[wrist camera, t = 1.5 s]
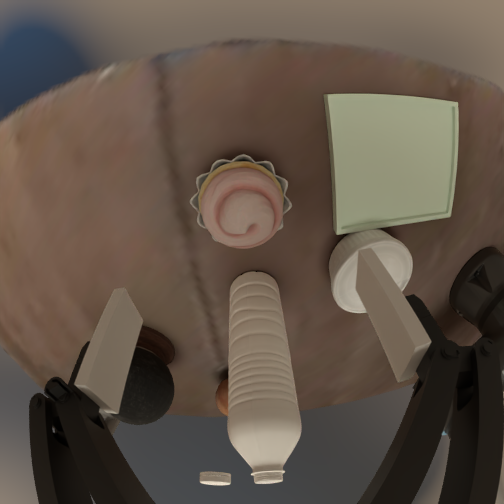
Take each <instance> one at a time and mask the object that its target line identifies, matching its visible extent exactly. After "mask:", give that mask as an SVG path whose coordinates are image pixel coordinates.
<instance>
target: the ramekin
mask: <svg viewBox="0 0 504 504" xmlns="http://www.w3.org/2000/svg"><path fill="white" fill-rule="evenodd" d="M366 248H372V250H373V251H374V252H375V254H376V255H377V257H378V258H379V259H380V261H381V262H382V264H383V265H384V266H385V268H386V269H387V271H388V272H389V274H390V275H391V277H392V278H393V280H394V281H395V283H396V284H397V286H398V287H399V289H400V290H401V292H402V291H403V290H404V288H405V287H406V285H407V283H408V281H409V279H410V277H411V274H412V268H413V262H412V257H411V254H410V252H409V250H408V249H407V247H406V246H405V245H404V244H403V243H402V242H401V241H399V240H397V239H395V238H393V237H392V236H390V235H389V234H387V233H386V232H384V231H383V230H380V229H371V230H364V231H358V232H352V233H350V234H348V235H347V236H345V237H344V238H343V239H342V240H341V241H340V242H339V243H338V244H337V246H336V247H335V249H334V250H333V252H332V254H331V257H330V261H329V273H330V278H331V290H332V294H333V297H334V299H335V301H336V303H337V304H338V306H340V307H341V308H342V309H344V310H346V311H349V312H353V313H366V310H365V307H364V305H363V303H362V301H361V299H360V297H359V295H358V293H357V291H356V289H355V286H356V276H357V263H358V250H361V249H366Z"/></svg>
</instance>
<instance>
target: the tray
mask: <svg viewBox="0 0 504 504" xmlns="http://www.w3.org/2000/svg"><path fill="white" fill-rule="evenodd" d="M323 96H324V104H325V112H326V121H327V130H328V141H329V152H330V165H331V181H332V202H333V230H334V231H335V233H336V235H340V234H346V233H352V232H358V231H364V230H371V229H377V228H383V227H390V226H396V225H402V224H409V223H415V222H421V221H428V220H434V219H440V218H447V217H451V211H452V205H453V198H454V190H455V182H456V171H457V158H458V130H459V122H458V103H457V102H452V101H446V100H439V99H432V98H424V97H414V96H403V95H388V94H323Z"/></svg>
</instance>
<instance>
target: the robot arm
mask: <svg viewBox="0 0 504 504" xmlns="http://www.w3.org/2000/svg"><path fill="white" fill-rule="evenodd" d="M355 289H356V291H357V293H358V295H359V297H360V299H361V301H362V303H363V305H364V307H365V310H366V312H367V314H368V316H369V318H370V320H371V322H372V324H373V326H374V329H375V331H376V333H377V335H378V337H379V339H380V342H381V344H382V346H383V348H384V351H385V353H386V355H387V358H388V360H389V362H390V365H391V367H392V369H393V372H394V374H395V377H396V379H397V382H398V383H399V382H402V381H405V380H408V379H410V378H412V377H413V376H414V374H415V372H417V374H418V376H419V378H418V380H417V382H416V383H415V385H414V386H413V389H414V392H413V394H412V397H411V400H410V402H409V405H408V408H407V410H406V413H405V415H404V417H403V420H402V422H401V424H400V427H399V429H398V431H397V434H396V436H395V438H394V440H393V442H392V444H391V446H390V448H389V450H388V452H387V454H386V456H385V458H384V460H383V462H382V464H381V465H380V467H379V469H378V471H377V472H376V474H375V476H374V478H373V479H372V481H371V483H370V484H369V486H368V488H367V489H366V491H365V492H364V494H363V496H362V497H361V499H360V500H359V501H358V503H357V504H411V503H412V501H413V500H414V498H415V496H416V494H417V492H418V490H419V488H420V486H421V484H422V482H423V480H424V478H425V476H426V473H427V471H428V469H429V467H430V464H431V462H432V460H433V457H434V455H435V452H436V450H437V447H438V444H439V442H440V439H441V436H442V435H446V434H448V436H449V439H450V446H449V454H448V460H447V466H446V472H445V477H444V482H443V486H442V491H441V495H440V498H439V502H438V504H504V398H503V391H504V256H503V255H502V254H501V253H500V252H499V251H498V250H497V249H496V248H494V247H489V248H485V249H483V250H481V251H480V252H478V253H477V254H476V255H475V256H474V257H472V258H471V259H470V260H469V262H468V263H467V264H466V265H465V266H464V268H463V269H462V270H461V272H460V273H459V275H458V276H457V278H456V280H455V282H454V284H453V287H452V289H451V293H450V304H451V306H452V307H453V309H454V310H455V311H456V313H457V314H458V315H460V316H463V317H464V318H465V319H466V320H468V321H469V322H470V323H472V324H473V325H475V326H476V327H477V328H478V330H479V331H480V333H481V334H482V337H481V338H480V339H479V340H478V341H477V342H476V343H475V344H473V345H472V346H458V345H457V344H456V343H455V342H453V341H450V340H447V339H446V338H445V336H444V334H443V333H442V331H441V329H440V328H439V326H438V325H437V323H436V321H435V320H434V318H433V317H432V316H431V314H430V312H429V310H427V307H426V306H425V304H424V303H423V301H422V300H421V299H419V298H418V297H417V296H415V295H414V294H413V295H409V296H406V297H405V296H404V295H403V293H402V292H401V290H400V289H399V287H398V286H397V284H396V283H395V281H394V280H393V278H392V277H391V275H390V274H389V272H388V271H387V269H386V268H385V266H384V265H383V264H382V262H381V261H380V259H379V258H378V257H377V255H376V254H375V252H374V251H373V250H372V248H366V249H361V250H358V263H357V276H356V286H355ZM142 323H143V319H142V318H141V316H140V314H139V312H138V311H137V309H136V307H135V305H134V304H133V302H132V300H131V298H130V296H129V295H128V293H127V291H126V289H125V288H118V289H114V291H113V293H112V295H111V297H110V299H109V301H108V303H107V305H106V307H105V310H104V312H103V314H102V316H101V318H100V321H99V323H98V325H97V327H96V330H95V332H94V334H93V337H92V339H91V341H87V343H86V344H85V345H84V347H83V348H82V349H81V352H80V354H79V358H78V359H77V362H76V363H77V364H75V367H74V370H73V372H72V375H71V378H70V380H69V383H68V385H67V384H66V383H65V382H64V381H63V380H62V379H61V378H59V377H53V378H51V379H50V380H49V381H48V382H47V384H46V386H45V389H44V391H45V392H44V393H45V394H46V395H47V396H48V397H49V398H47V397H45V396H44V395H43V394H41V393H37V394H35V395H34V396H33V397H32V398H31V400H30V405H29V428H30V445H31V457H32V466H33V474H34V480H35V486H36V491H37V496H38V501H39V504H93V502H92V499H91V496H92V498H93V499H94V501H95V503H96V504H155V502H154V501H153V500H152V498H151V497H150V496H149V494H148V493H147V492H146V490H145V489H144V487H143V486H142V484H141V483H140V482H139V480H138V478H137V477H136V475H135V474H134V472H133V471H132V469H131V468H130V466H129V464H128V463H127V461H126V459H125V458H124V456H123V454H122V453H121V451H120V449H119V447H118V446H117V444H116V442H115V440H114V438H113V436H112V434H111V432H110V431H109V429H108V427H107V425H106V423H105V420H104V418H103V416H102V415H101V413H100V412H99V409H100V408H102V409H103V410H104V411H105V412H107V413H114V414H118V413H119V408H120V404H121V400H122V395H123V391H124V387H125V383H126V379H127V375H128V372H129V368H130V364H131V360H132V357H133V353H134V350H135V346H136V343H137V339H138V336H139V333H140V330H141V326H142ZM52 427H53V428H54V429H55V433H53V430H52ZM90 494H91V496H90Z"/></svg>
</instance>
